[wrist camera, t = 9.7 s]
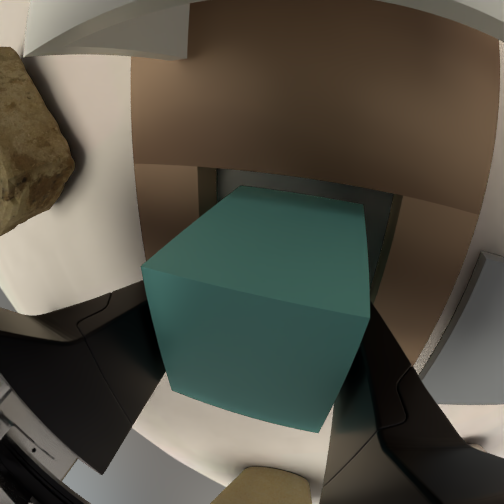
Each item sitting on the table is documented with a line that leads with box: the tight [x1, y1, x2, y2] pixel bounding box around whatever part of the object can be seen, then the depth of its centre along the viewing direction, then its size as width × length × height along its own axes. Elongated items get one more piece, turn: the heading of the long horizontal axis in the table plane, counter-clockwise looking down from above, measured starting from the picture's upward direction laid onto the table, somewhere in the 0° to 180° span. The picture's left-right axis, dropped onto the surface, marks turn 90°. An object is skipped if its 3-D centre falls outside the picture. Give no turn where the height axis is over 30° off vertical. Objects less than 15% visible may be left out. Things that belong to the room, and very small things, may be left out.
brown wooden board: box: [131, 0, 500, 367], centre depth 8 cm, size 20×12×2 cm, turn 178°
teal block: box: [141, 186, 370, 433], centre depth 9 cm, size 4×4×6 cm
